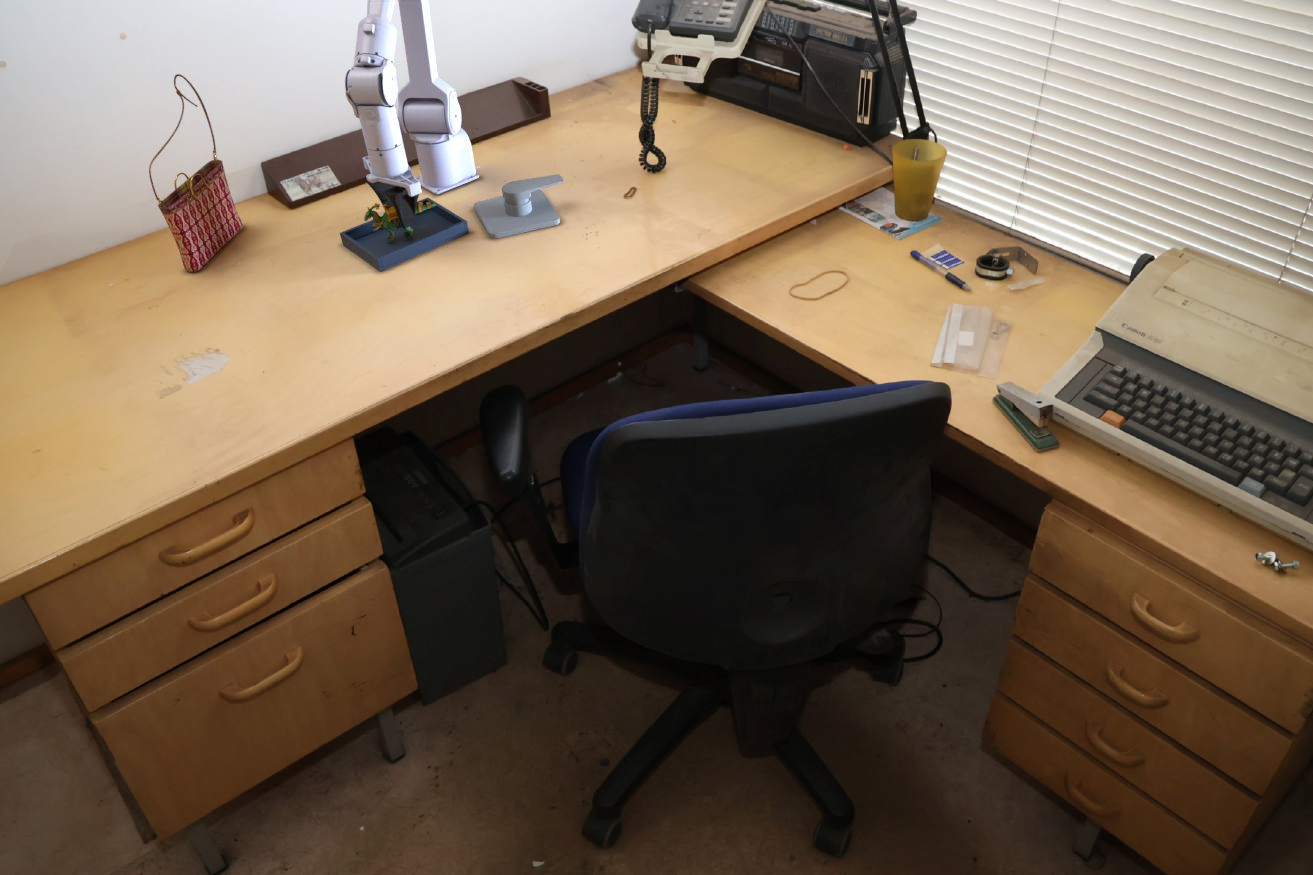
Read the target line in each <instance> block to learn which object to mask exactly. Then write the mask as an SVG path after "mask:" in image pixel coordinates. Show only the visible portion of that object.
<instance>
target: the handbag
mask: <svg viewBox="0 0 1313 875" xmlns="http://www.w3.org/2000/svg"><path fill="white" fill-rule="evenodd" d="M177 77H180V78H182V79H183V80H185V82H186V83H187V84H188V85H189V86H190V87H191V89H192V90H193V92H194V94H195V95H196V97H197V100H198V101H199V103H200V105H201V107H202V110H203V113H204V115H205V118H206V120H207V123H208V127H209V131H210V134H211V138H212V145H213V151H212V158H213V159H212V160H210V161H208V162H206V163H205V164H204V165H203V166H201V168H199V169H198V170H197V171H196V172H194V173H193V174H192V175H191V176H190V177H189V176H188V175H187V174H186V173H184V172H179V173H177V175H176V176H175V178H174V190H173V191H172V192H171V193H170V194H168V195H167V196H166V197H165V198H163V200H162V199H160V198H159V196H158V194H157V191H156V189H155V185H154V182H153V177H152V172H151V171H152V170H151V168H152V165H153V163H154V161H155V160H156V159H157V158H158V156H159V155H160V154H161V153H162V151H163V150H165V148H166V146H167V145H168V144H169V143H170V141H171V140H172V139H173V137H174V135H175V134H176V133H177V131H178V129H179V127H180V124H181V122H182V119H183V116H184V111H185V101H184V100H186V101H187V102H188V103H190V104H191V105H193V106H194V107H196V108H197V107H199V105H197V103H194V102H193V101H191V100H190V99H189V98H187V97H186V96H185V95H184V94H183V93H182V92H181V91H180V89H178V87H177V84H176V81H177ZM173 87H174V88H175V92H176V94H177V96H179V98H180V100H181V104H182V108H181V115H180V118H179V120H178V123H177V126H176V127H175V129H174V131H173V132H172V134H171V135H170V136H169V138H168V139H167V140H166V142H165V143H164V144H163V146H161V148H160V149H159V150H158V152H157V153H156V154H155V155H154V157H153V158H152V160H150V162H149V167H148V174H149V181H150V183H151V188H152V191H153V194H154V196H155V199H156V201H157V202H158V204H157V207H158V209H159V211H160V212H161V214H162V216H163V218H164V220H165V222H166V224H167V226H168V228H169V230H170V232H171V234H172V237H173V239H174V240H175V244H176V246H177V249H178V252H179V256H180V258H181V261H182V265H183V268H184V270H185V271H186V272H187V273H189V272H190V273H197V272H199V271H201V269H202V268H204V266H205V265H207V263H208V262H209V261H210V260H211V259H212V258H213V257H214V256H215V255H216V254H217V253H218V252H219V251H220V250H221V249H222V248H223V247H224V246H225V245H226V244H227V243H228V242H229V241H230V240H232V238H234V237H235V236H236V235H237V234H238V233H239V232H240V231H241V230H242V229H243V222H242V219H241V217H240V215H239V213H238V210H237V209H236V205H235V203H234V200H233V196H232V194H231V189H230V187H229V183H228V179H227V176H226V172H225V167H224V164H223V160H221V159H218V158H217V147H216V146H217V145H216V140H215V135H214V131H213V127H212V124H211V121H210V118H209V115H208V112H207V109H206V106H205V104H204V102H203V99H202V98H201V96H200V94H199V93H198V91H197V90H196V88H195V87H194V85H193V84H192V83H191V82H190V81H189V79H188V78H186V77H185V76H184V75H182V74H180V73H177V74H175V75H174V77H173ZM180 175H183V176H184V177H185V178H186V180H185V181H184V182H183V183H182V184H181V185H179V186H178V187H177V179H178V178H179V176H180Z"/></svg>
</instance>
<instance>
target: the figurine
mask: <svg viewBox="0 0 1313 875" xmlns="http://www.w3.org/2000/svg"><path fill="white" fill-rule="evenodd" d="M417 202H418V201H417ZM422 204H423V203H422V202H418V205H417V206H416V213H420V212H422V211H424V210H426V209H430V208H431V207H433V206H436V205H437V204H430V202H426V205H422ZM380 206H381V204H380V203H377V202H375V203H374V204H373V205H372V206H371V207H368V206H367V211H366V212H365V214H364V218H363V221H364V222H368V221H369V220H371V219H372V220H373V221H374V225H372V226H376V227H377V228H376V229H375V231H376V230H378V229H379V228H381V229H384V230H386V231H387V232H389V234H390V235H389V236H387V237H386V238H387V239H388V238H391V240H388V241H387V242H388V243H390V242H391V241H392V239H393V236H394V232H393V230H396V229H398V228H400V227H402V225H401V223H400V221H399V218H398V215H397V212H396V210H395V208H394V206H392V207H390V208H387V206H388V205H387V204H385V205H382V207H383V209H384V208H385V209H384V211H385V210H386V211H385V212H383V215H380V214H379V213H378V211H377V210H380ZM385 206H386V207H385ZM374 209H375V210H374ZM380 216H382V217H380ZM410 227H411V226H409V227H407V228H404V227H402V228H403V229H404V230H405V231H408V232H404V234H405V235H407V234H409V235H408V236H407V237H405V239H406V240H408V239H410V237H413V236H412V235H411V234H412V231H413V229H411V228H410Z"/></svg>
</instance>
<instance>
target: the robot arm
mask: <svg viewBox="0 0 1313 875" xmlns="http://www.w3.org/2000/svg"><path fill="white" fill-rule="evenodd" d="M397 1H398V8H399V15H400V22H401V29H402V36H403V44H404V51H405V59H406V64H407V66H406V67H407V71H408V78H409V81H408V82H406V83H405V84H404V85H403V86H402V87H401V88H400V89H399V88H398V85H399V84H398V78H397V68H396V67H395V65H394V63H395V55H396V47H397V37H398V30H397V28H396V26H395V25H394V24H393V23H392V20H393V19H392V17H393V14H394V8H395V4H396V0H367V4H366V16H365V17H363V18H362V19H361V20H360V21H359V22H358V26H357V32H356V33H357V34H356V35H357V36H356V41H355V50H354V57H353V66H352V67H351V68H350V69H348V70H347V71H346V72H345V76H344V90H345V92H344V93H345V97H346V99H347V101H348V103H349V105H350V106H351V108H352V110H353V115H354V116H355V118H357V119H359V123H360V128H361V131H362V136H363V139H364V144H365V148H366V152H367V156H363V157H362V162H363V166H364V169H365V170H367V171H369V174H367V175H366V176H365V177H366V184H367V185H368V186H369V187H370V188H371V189H372V191H373V192H374V193H375V195H376V196H377V198H378V200H379V201H380V203H381V206H383V205H385V204H387V205H388V206H387V208H390V207H392V206H394V208H395V210H396V212H397V215H398V218H399V221H400V223H401V225H402V227H404V228H407V227H409V226H412V225H414V224H415V219H416V205H417V202H418V201H419V197H420V196H419V195H420V194H422V193H423V191H422V188H423V189H425V190H427V191H429V192H430V193H432V194H434V195H439V194H443V193H445V192H447V191H450V190H452V189H455V188H457V187H459V186H462V185H465V184H468V183H470V182H473V181H474V180H477V179H479V178H480V175H479V174H477V171H476V165H475V159H474V153H473V148H472V143H471V140H470V138H469V136H468V133H467V132H466V131H465V129H464V128H462V127H461V126H462V109H461V106H460V103H459V99H458V95H457V91H456V88H455V87H454V86H452V84H451V85H450V84H449V83H448V82H447V81H444V80H443V79H441V78H440V77H439V74H438V66H437V65H438V64H437V58H436V57H437V56H436V51H435V41H434V34H433V26H432V18H431V11H430V3H429V0H397ZM397 99H398V100H397ZM397 101H398V102H397ZM396 102H397V103H398V108H396ZM402 131H403V133H405V134H406V135H408V136H409V140H410V141H413V143H414V147H415V152H416V157H417V161H418V166H419V172H420V175H419V176H416V177H415V174H414V172H413V170H412V169H411V166H410V165H409V164H408V158H407V155H406V154H407V153H406V150H405V146H404V145H405V144H404V141H403V135H402ZM385 207H386V206H385ZM383 209H384V211H386V210H385V208H384V207H383Z"/></svg>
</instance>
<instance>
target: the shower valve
mask: <svg viewBox="0 0 1313 875" xmlns="http://www.w3.org/2000/svg"><path fill="white" fill-rule="evenodd" d="M564 183H565V182H564V178H563V176H561V175H560V174H558V173H557V174H552V175H545V176H538V177H533V178H526V179H520V180H513V181H509V182H507V183H505V184H503V185H502V187H501V192H502V196H498V197H494V198H489V199H484V200H480V201H477V202H474V203H473V211H474V213H475V214H476V216H477V217H478V220H479V221H480V223H481V225H482V227H483V228H484V230H485V232H486V234H487V236H488V238H489V239H492V240H497V239H501V238H507V237H510V236H515V235H520V234H523V233H528V232H533V231H537V230H542V229H545V228H550V227H555V226H558V225H559V224H560V223H561V218H560V217H561V216H560V215H559V214H558V213H557V211H556V208H554V207H553V205H552V204H551V202H550V200H549V199H548V198H547V196H546V195H545V194H544V192H543V189H546V188H551V187H554V186H558V185H561V184H564Z"/></svg>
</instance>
